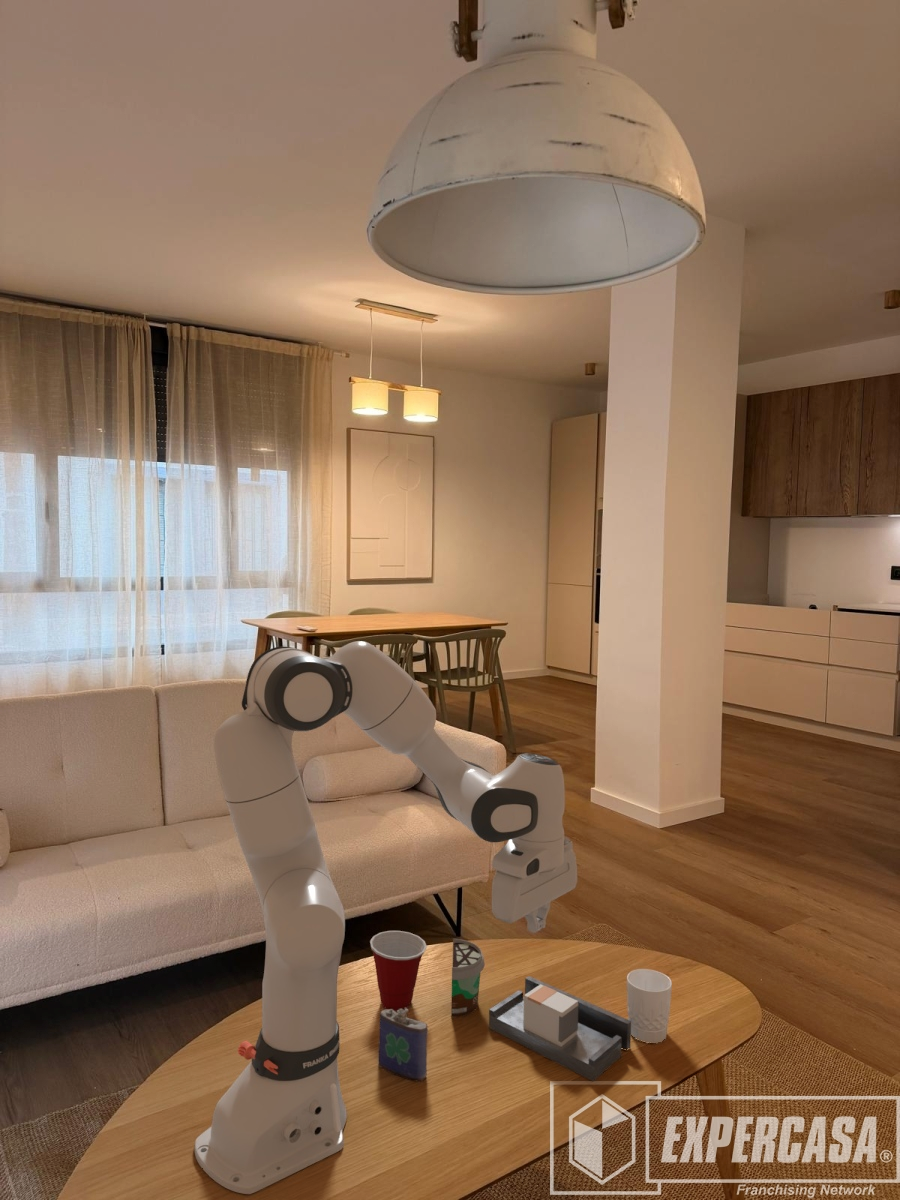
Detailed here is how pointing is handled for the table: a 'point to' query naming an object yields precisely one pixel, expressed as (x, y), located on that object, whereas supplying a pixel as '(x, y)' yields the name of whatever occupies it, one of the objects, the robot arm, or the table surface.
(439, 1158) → the table surface
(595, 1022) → the dark grey tray
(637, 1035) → the white cup
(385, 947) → the plastic cup
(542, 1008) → the block
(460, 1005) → the food container
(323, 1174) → the table surface
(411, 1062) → the flask
